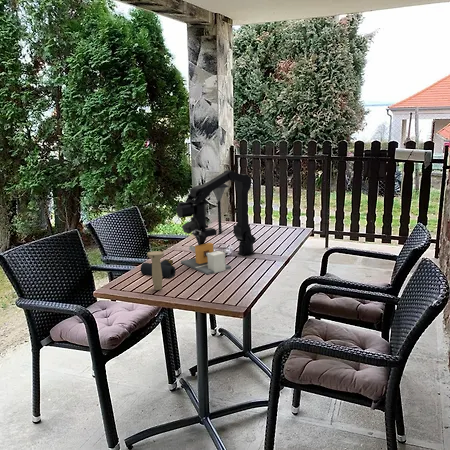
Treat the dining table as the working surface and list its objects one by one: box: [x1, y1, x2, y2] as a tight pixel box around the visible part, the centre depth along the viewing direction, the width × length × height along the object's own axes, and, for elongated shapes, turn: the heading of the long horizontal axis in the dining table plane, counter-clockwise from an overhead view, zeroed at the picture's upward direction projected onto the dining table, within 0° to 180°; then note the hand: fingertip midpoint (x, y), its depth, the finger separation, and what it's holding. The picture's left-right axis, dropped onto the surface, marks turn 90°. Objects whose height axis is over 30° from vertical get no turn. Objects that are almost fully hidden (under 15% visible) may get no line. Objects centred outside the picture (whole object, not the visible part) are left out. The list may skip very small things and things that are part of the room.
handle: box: [146, 250, 165, 291], centre depth 177 cm, size 5×6×15 cm
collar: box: [194, 242, 215, 264], centre depth 204 cm, size 8×3×8 cm, turn 126°
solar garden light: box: [212, 183, 230, 235], centre depth 261 cm, size 12×12×30 cm
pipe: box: [188, 245, 209, 257], centre depth 205 cm, size 2×21×2 cm, turn 37°
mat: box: [180, 257, 232, 275], centre depth 205 cm, size 13×22×1 cm, turn 36°
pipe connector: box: [140, 258, 177, 279], centre depth 198 cm, size 12×5×15 cm
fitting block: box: [207, 250, 226, 274], centre depth 197 cm, size 6×5×8 cm
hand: (201, 247), depth 206 cm, fingers closed
